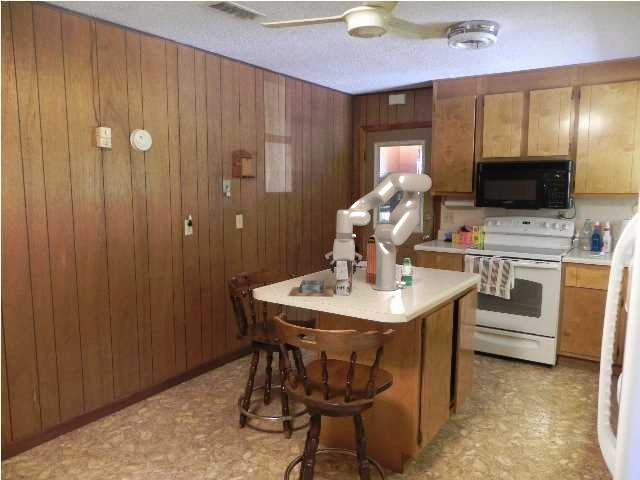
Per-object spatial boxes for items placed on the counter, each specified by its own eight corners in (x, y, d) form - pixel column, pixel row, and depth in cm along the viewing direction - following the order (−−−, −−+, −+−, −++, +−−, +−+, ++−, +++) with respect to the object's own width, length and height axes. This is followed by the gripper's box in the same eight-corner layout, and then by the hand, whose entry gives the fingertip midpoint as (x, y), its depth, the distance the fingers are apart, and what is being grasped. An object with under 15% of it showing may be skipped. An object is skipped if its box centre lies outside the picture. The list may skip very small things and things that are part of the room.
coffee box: (349, 295, 225) (349, 260, 224) (335, 295, 227) (335, 260, 225) (352, 291, 234) (352, 257, 233) (339, 290, 236) (339, 257, 234)
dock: (334, 289, 238) (334, 280, 238) (333, 296, 223) (333, 286, 223) (293, 289, 240) (292, 279, 239) (289, 295, 225) (289, 285, 224)
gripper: (362, 236, 231) (361, 272, 232) (326, 235, 232) (325, 271, 234) (363, 237, 223) (362, 275, 225) (325, 236, 224) (324, 273, 226)
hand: (343, 273), depth 229 cm, fingers open, 9 cm apart
